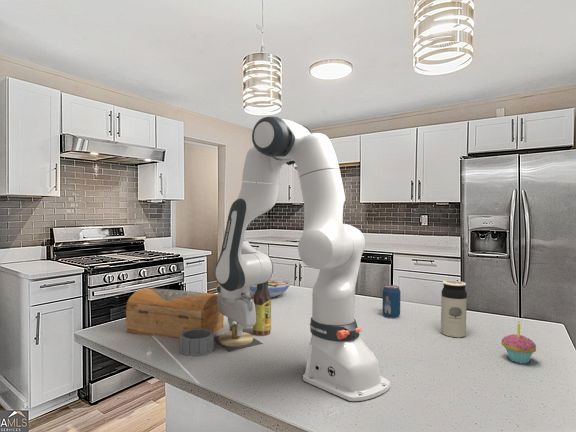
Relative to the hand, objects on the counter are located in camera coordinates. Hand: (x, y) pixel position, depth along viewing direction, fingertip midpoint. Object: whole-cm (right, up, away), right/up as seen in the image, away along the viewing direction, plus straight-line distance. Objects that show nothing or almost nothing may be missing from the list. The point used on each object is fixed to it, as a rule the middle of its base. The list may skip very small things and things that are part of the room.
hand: (235, 333), depth 120 cm
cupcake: (+83, -4, -12) cm, 84 cm away
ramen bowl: (+7, -2, +61) cm, 62 cm away
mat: (0, -3, 0) cm, 3 cm away
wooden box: (-22, -3, +11) cm, 25 cm away
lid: (0, -2, 0) cm, 2 cm away
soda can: (+58, -3, +30) cm, 66 cm away
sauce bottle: (+8, -3, +8) cm, 12 cm away
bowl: (-11, -3, -7) cm, 13 cm away
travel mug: (+74, -4, +9) cm, 75 cm away
